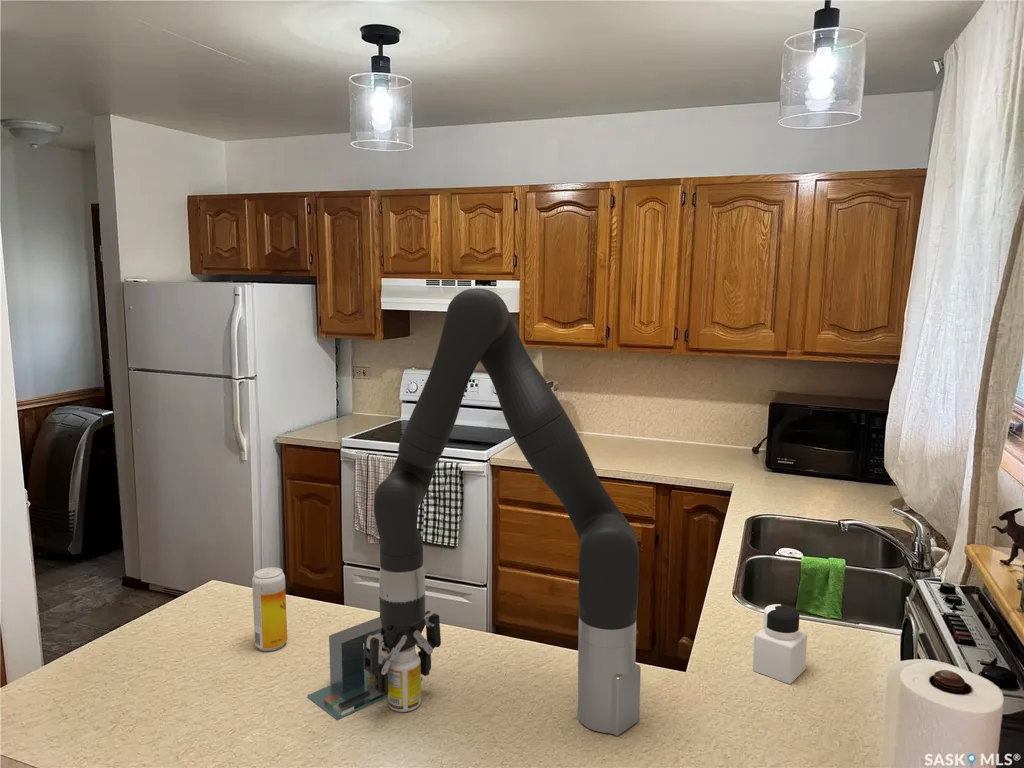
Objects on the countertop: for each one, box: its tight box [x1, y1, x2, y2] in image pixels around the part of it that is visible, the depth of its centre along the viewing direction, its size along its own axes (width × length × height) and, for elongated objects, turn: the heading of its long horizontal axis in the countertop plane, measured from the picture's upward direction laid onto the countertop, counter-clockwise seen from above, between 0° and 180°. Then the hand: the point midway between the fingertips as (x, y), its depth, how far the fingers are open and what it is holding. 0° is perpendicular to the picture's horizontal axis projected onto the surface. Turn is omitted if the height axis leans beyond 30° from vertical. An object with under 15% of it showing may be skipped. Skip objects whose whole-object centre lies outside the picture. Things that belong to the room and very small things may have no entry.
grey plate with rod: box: [338, 648, 391, 709], centre depth 125 cm, size 8×14×8 cm, turn 135°
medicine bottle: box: [752, 603, 808, 685], centre depth 132 cm, size 7×7×12 cm
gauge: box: [306, 616, 423, 721], centre depth 126 cm, size 10×18×10 cm, turn 135°
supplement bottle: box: [387, 645, 422, 713], centre depth 121 cm, size 6×6×10 cm
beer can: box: [251, 566, 288, 652], centre depth 142 cm, size 6×6×15 cm
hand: (403, 682), depth 121 cm, fingers open, 8 cm apart
